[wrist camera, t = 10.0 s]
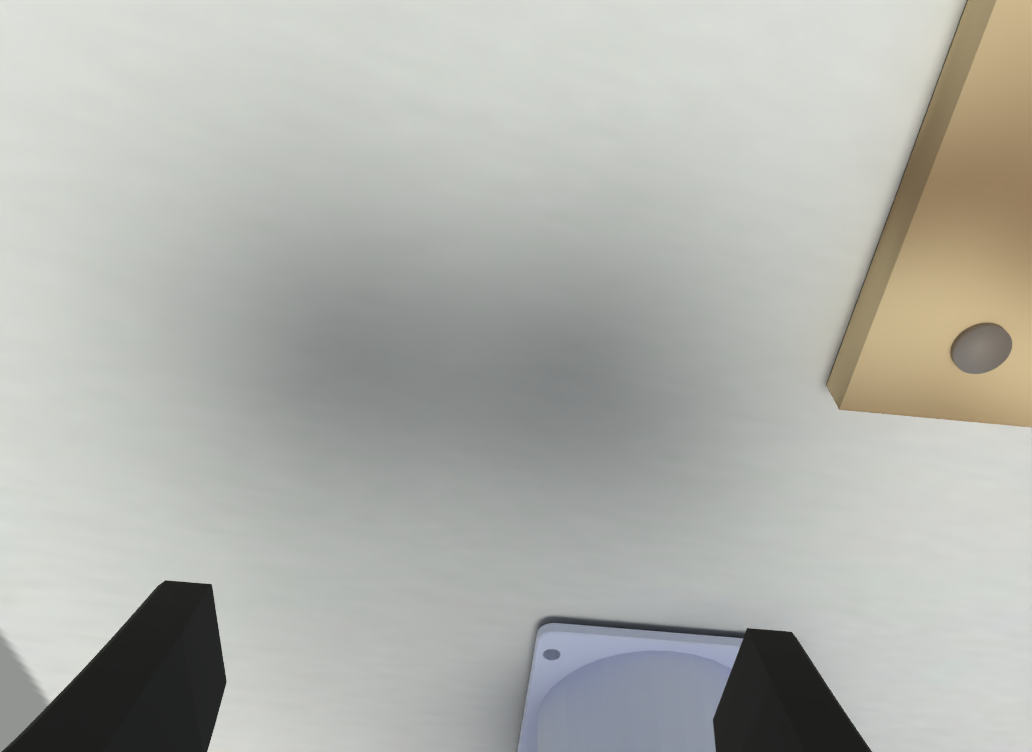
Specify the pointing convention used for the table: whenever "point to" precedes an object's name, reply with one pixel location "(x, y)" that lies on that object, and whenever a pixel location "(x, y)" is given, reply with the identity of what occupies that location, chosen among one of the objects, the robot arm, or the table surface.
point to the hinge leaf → (956, 246)
